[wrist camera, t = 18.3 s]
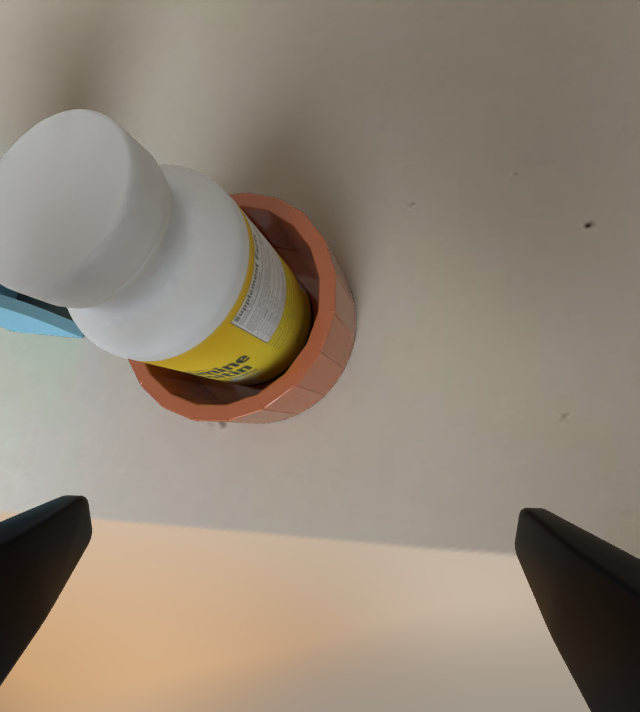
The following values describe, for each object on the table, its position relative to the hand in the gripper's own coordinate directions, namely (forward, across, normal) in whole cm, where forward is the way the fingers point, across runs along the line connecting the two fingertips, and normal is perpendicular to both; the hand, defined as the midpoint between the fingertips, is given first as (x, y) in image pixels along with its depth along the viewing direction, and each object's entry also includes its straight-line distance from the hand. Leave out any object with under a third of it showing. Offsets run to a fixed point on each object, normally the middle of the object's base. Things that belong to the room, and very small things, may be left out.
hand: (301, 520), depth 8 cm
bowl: (+13, +3, -2) cm, 14 cm away
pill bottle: (+13, +3, -2) cm, 13 cm away
